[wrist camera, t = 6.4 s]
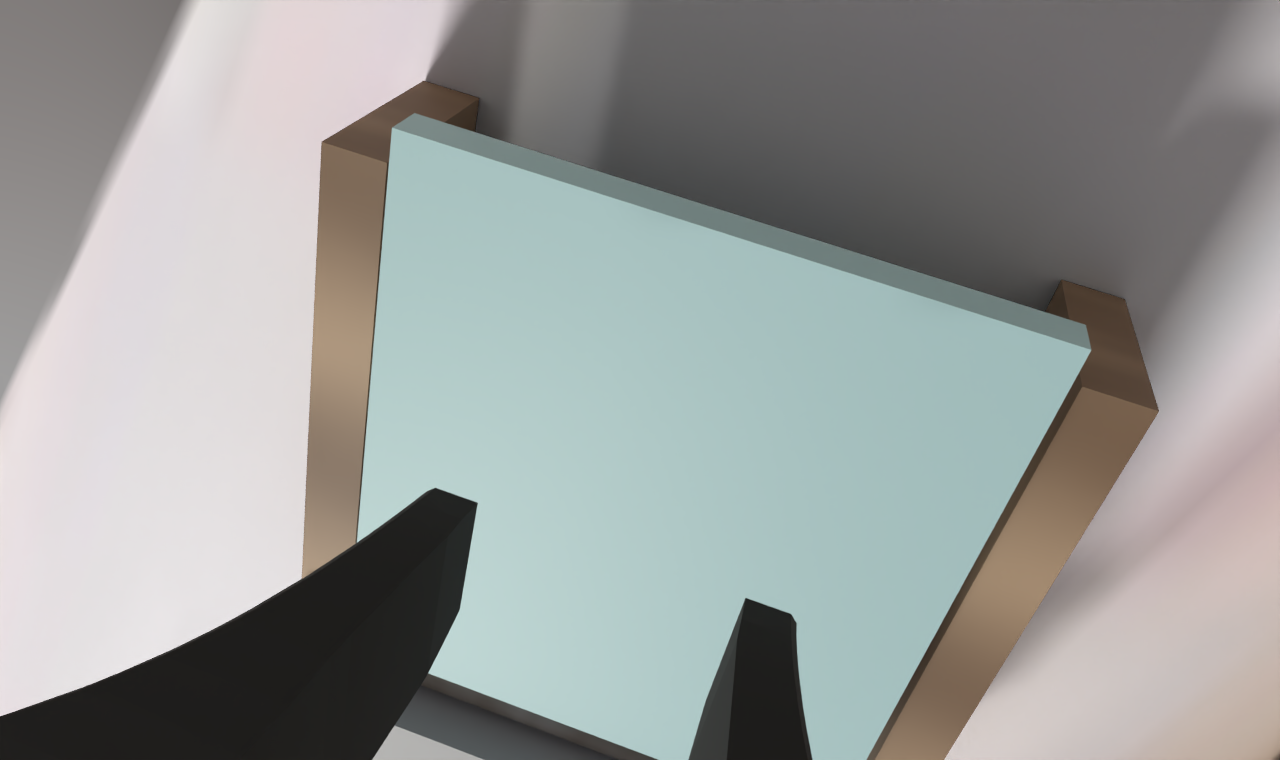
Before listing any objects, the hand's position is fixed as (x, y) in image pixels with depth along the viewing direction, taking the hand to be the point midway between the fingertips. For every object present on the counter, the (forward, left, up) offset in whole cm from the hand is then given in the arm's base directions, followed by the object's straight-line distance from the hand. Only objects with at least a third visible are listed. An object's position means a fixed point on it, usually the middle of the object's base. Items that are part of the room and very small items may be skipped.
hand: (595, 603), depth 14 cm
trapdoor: (0, +5, -6) cm, 8 cm away
